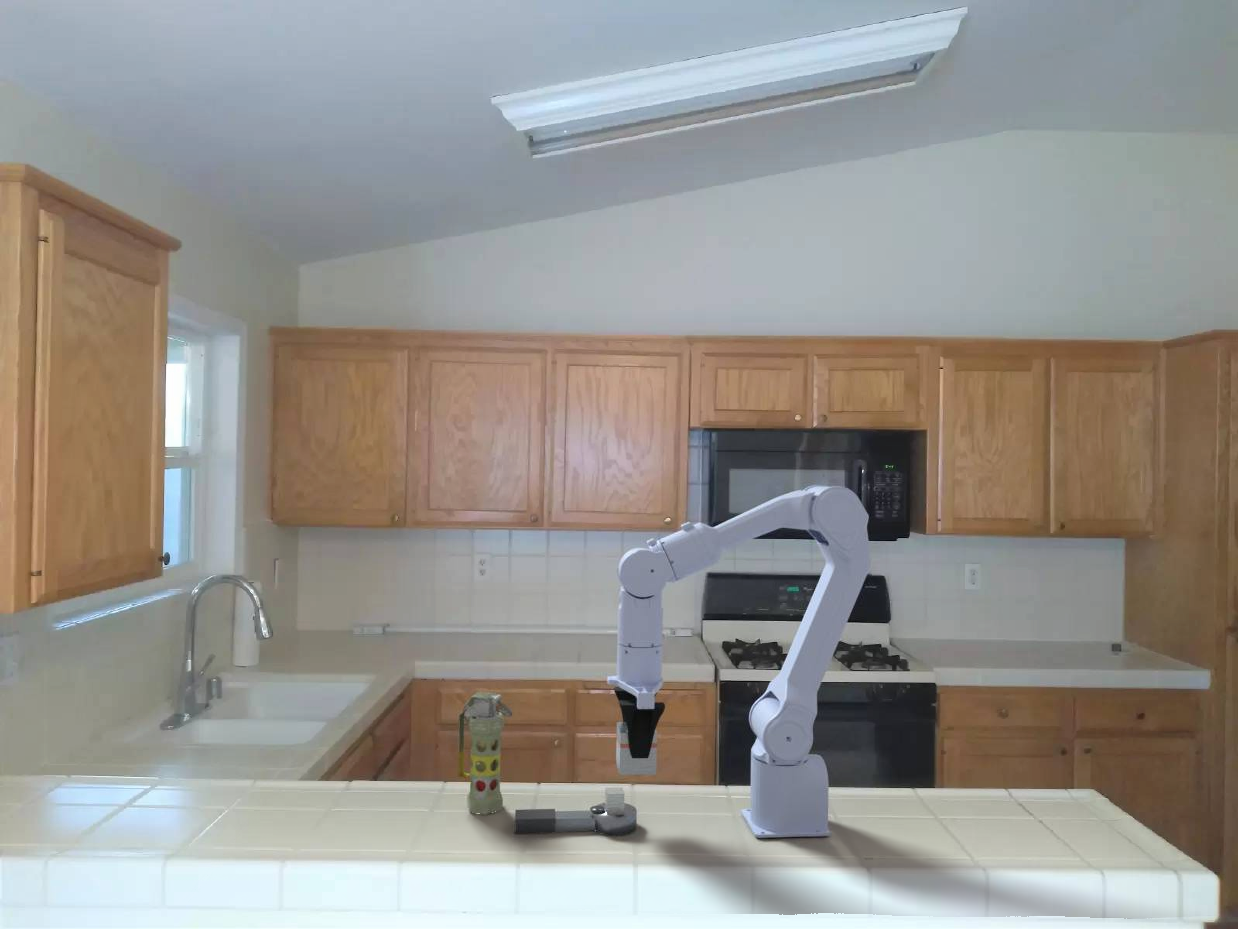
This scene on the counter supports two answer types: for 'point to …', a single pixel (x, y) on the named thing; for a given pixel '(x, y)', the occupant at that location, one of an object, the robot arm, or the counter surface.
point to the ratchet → (582, 817)
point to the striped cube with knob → (625, 760)
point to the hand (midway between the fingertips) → (637, 750)
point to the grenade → (483, 751)
